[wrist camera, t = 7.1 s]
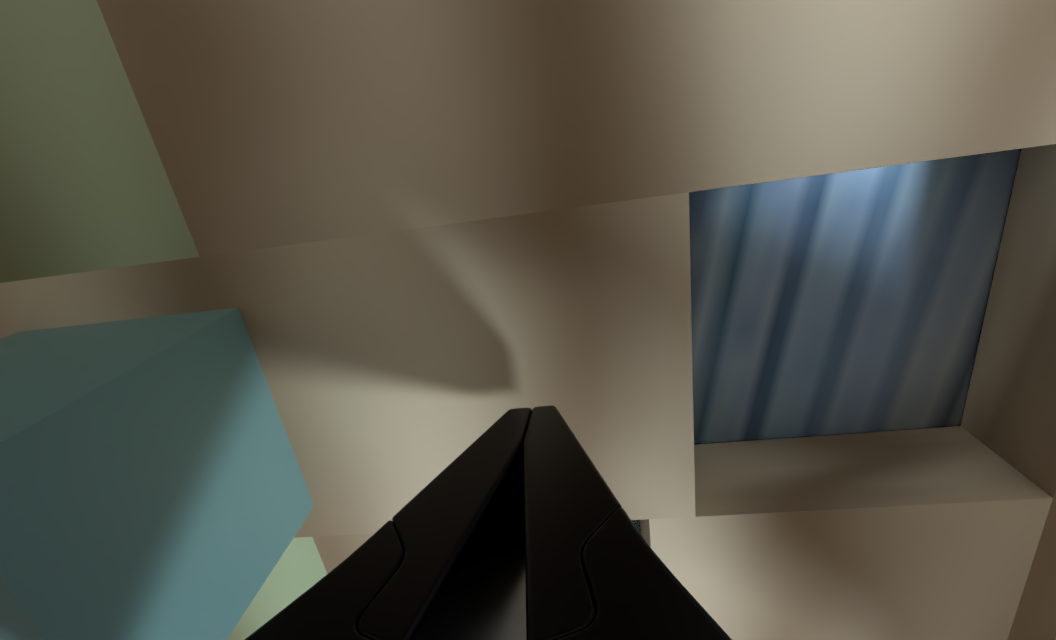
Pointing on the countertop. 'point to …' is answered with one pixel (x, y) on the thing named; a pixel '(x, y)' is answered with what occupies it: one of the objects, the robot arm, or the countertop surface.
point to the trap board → (551, 261)
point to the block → (140, 479)
